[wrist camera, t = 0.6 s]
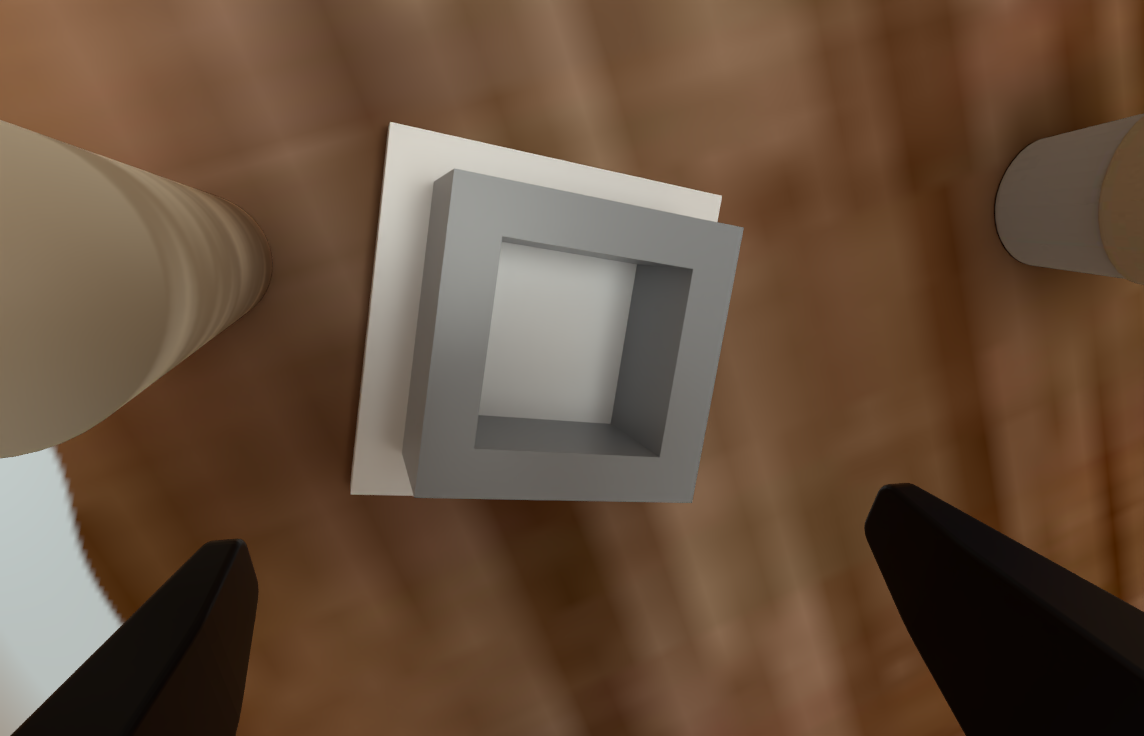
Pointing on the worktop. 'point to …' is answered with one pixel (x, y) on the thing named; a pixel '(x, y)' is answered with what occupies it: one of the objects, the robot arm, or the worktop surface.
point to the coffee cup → (1078, 201)
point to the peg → (106, 283)
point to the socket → (537, 328)
